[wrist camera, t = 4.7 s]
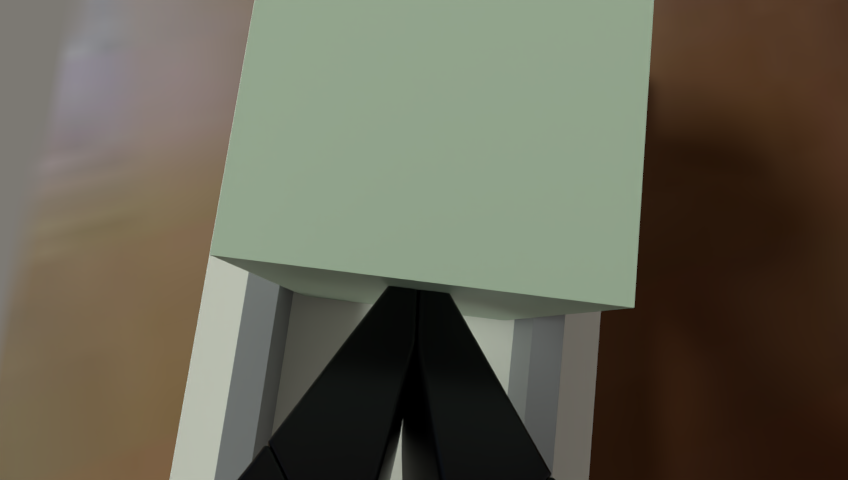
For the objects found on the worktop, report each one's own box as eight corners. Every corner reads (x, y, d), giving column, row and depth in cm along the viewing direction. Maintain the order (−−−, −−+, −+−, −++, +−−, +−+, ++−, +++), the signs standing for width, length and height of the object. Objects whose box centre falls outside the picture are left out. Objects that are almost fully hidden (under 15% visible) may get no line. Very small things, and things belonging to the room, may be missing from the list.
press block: (504, 320, 15) (634, 307, 7) (304, 296, 15) (209, 255, 7) (522, 130, 16) (658, -72, 8) (332, 104, 16) (277, -130, 8)
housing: (555, 657, 15) (660, 857, 10) (163, 618, 15) (20, 803, 9) (600, 74, 18) (705, -52, 12) (265, 27, 18) (204, -128, 12)
